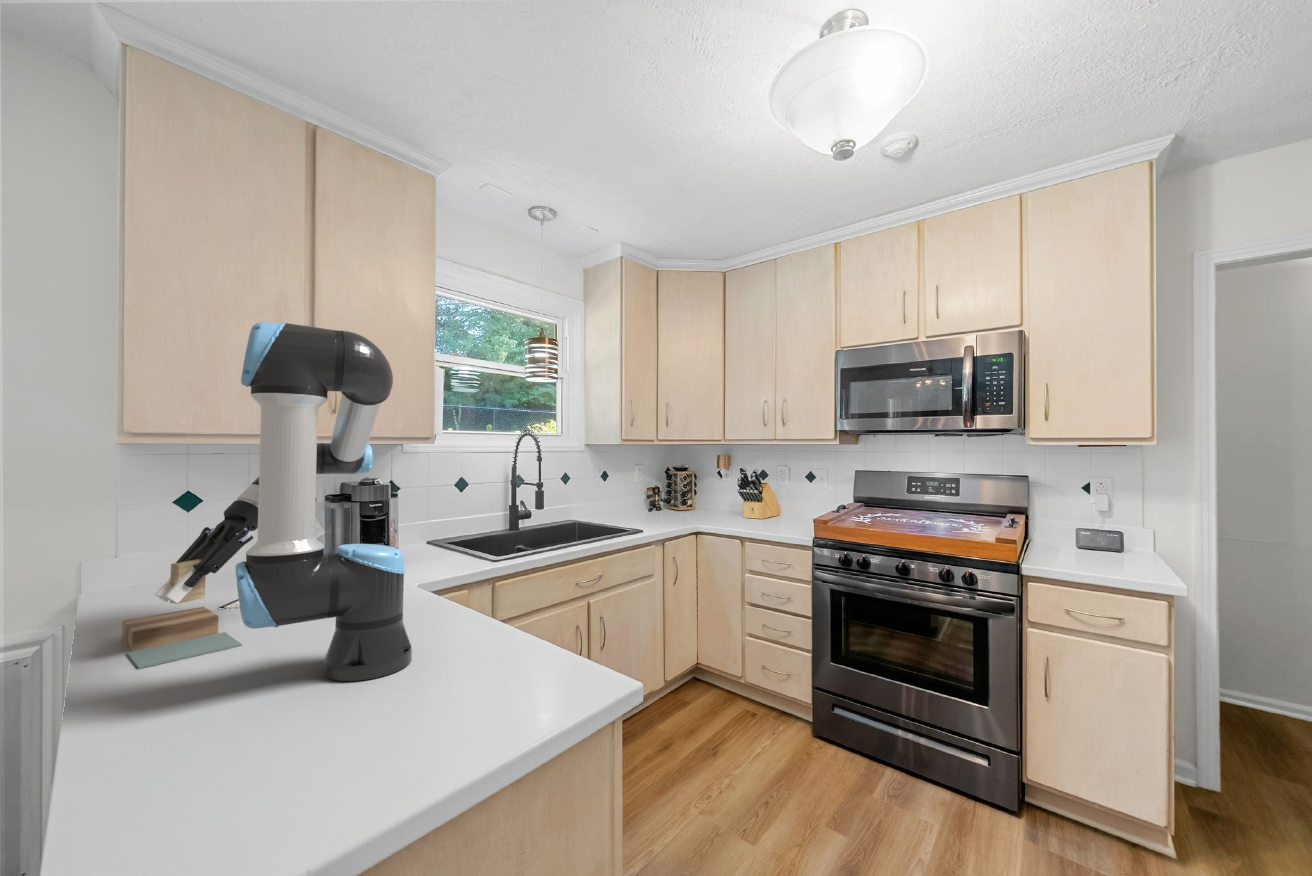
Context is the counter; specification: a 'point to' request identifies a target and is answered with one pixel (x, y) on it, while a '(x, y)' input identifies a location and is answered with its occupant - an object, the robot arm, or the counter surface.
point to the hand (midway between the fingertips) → (166, 598)
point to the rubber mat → (182, 650)
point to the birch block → (176, 575)
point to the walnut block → (169, 628)
